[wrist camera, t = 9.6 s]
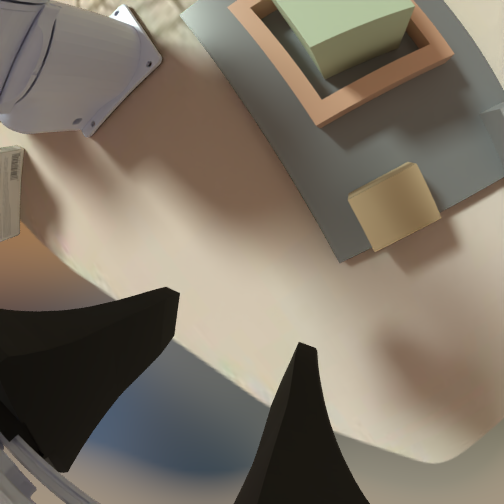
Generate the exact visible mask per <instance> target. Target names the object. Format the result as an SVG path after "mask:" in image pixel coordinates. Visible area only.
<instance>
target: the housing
mask: <svg viewBox="0 0 504 504" xmlns="http://www.w3.org/2000/svg"><path fill="white" fill-rule="evenodd" d="M411 1H412V3H413V4H414V5H415V8H414V10H413V13H412V15H411V18H410V20H409V23H408V26H407V28H406V31H405V33H404V36H403V38H402V40H401V43H400V45H399V48H398V49H395V50H392V51H390V52H387V53H385V54H382V55H380V56H377V57H375V58H372V59H370V60H368V61H365V62H363V63H361V64H358V65H356V66H354V67H351V68H349V69H347V70H345V71H342V72H340V73H338V74H336V75H334V76H332V77H329V78H327V79H324V78H323V76H322V74H321V73H320V71H319V70H318V68H317V66H316V65H315V63H314V62H313V60H312V59H311V57H310V55H309V54H308V52H307V51H306V49H305V48H304V46H303V45H302V43H301V42H300V41H299V39H298V38H297V36H296V35H295V33H294V32H293V30H292V29H291V28H290V26H289V25H288V24H287V22H286V21H285V19H284V18H283V17H282V15H281V14H280V12H279V10H278V9H277V7H276V6H275V4H274V3H273V1H272V0H198V1H197V2H195V3H194V4H193V5H192V6H190V7H189V8H188V9H186V10H185V11H184V12H183V13H181V14H180V17H181V18H182V19H183V20H184V22H185V23H186V24H187V26H188V27H189V28H190V29H191V31H192V32H193V33H194V35H195V36H196V37H197V39H198V40H199V41H200V43H201V44H202V45H203V47H204V48H205V49H206V51H207V52H208V53H209V55H210V56H211V58H212V59H213V60H214V62H215V63H216V64H217V66H218V67H219V69H220V70H221V71H222V73H223V74H224V76H225V77H226V79H227V80H228V81H229V83H230V84H231V86H232V87H233V89H234V90H235V92H236V93H237V94H238V96H239V97H240V99H241V100H242V102H243V103H244V105H245V106H246V108H247V109H248V111H249V112H250V114H251V115H252V117H253V118H254V120H255V121H256V123H257V124H258V126H259V127H260V129H261V131H262V132H263V134H264V135H265V137H266V138H267V140H268V141H269V143H270V145H271V146H272V148H273V149H274V151H275V153H276V154H277V156H278V157H279V159H280V161H281V162H282V164H283V165H284V167H285V169H286V170H287V172H288V174H289V175H290V177H291V179H292V180H293V182H294V184H295V185H296V187H297V189H298V190H299V192H300V194H301V195H302V197H303V199H304V201H305V202H306V204H307V206H308V207H309V209H310V211H311V213H312V214H313V216H314V218H315V220H316V221H317V223H318V225H319V227H320V229H321V230H322V232H323V234H324V236H325V238H326V239H327V241H328V243H329V245H330V247H331V248H332V250H333V252H334V254H335V256H336V258H337V260H338V261H339V263H341V262H343V261H345V260H347V259H350V258H352V257H354V256H356V255H358V254H360V253H362V252H364V251H366V250H368V249H370V248H372V246H371V244H370V242H369V240H368V238H367V236H366V234H365V232H364V230H363V228H362V226H361V224H360V222H359V220H358V218H357V217H356V215H355V213H354V211H353V209H352V207H351V205H350V203H349V202H348V194H349V193H350V192H352V191H354V190H356V189H358V188H360V187H362V186H363V185H365V184H367V183H369V182H371V181H373V180H375V179H376V178H378V177H380V176H382V175H384V174H386V173H388V172H390V171H391V170H393V169H395V168H397V167H399V166H401V165H403V164H405V163H406V162H412V163H416V164H417V165H418V167H419V169H420V171H421V173H422V176H423V178H424V180H425V182H426V184H427V186H428V188H429V190H430V193H431V195H432V197H433V199H434V201H435V204H436V206H437V208H438V211H439V213H440V212H442V211H444V210H446V209H448V208H450V207H451V206H453V205H455V204H457V203H459V202H461V201H462V200H464V199H466V198H468V197H470V196H471V195H473V194H475V193H477V192H479V191H480V190H482V189H484V188H486V187H487V186H489V185H491V184H493V183H494V182H496V181H498V180H500V179H501V178H503V177H504V90H503V88H502V86H501V85H500V83H499V81H498V79H497V77H496V76H495V74H494V72H493V70H492V69H491V67H490V65H489V64H488V62H487V60H486V59H485V57H484V56H483V54H482V52H481V51H480V49H479V48H478V46H477V45H476V43H475V42H474V40H473V39H472V37H471V36H470V35H469V33H468V32H467V30H466V29H465V28H464V26H463V25H462V24H461V22H460V21H459V20H458V18H457V17H456V16H455V14H454V13H453V12H452V11H451V9H450V8H449V7H448V6H447V4H446V3H445V2H444V1H443V0H411Z"/></svg>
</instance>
